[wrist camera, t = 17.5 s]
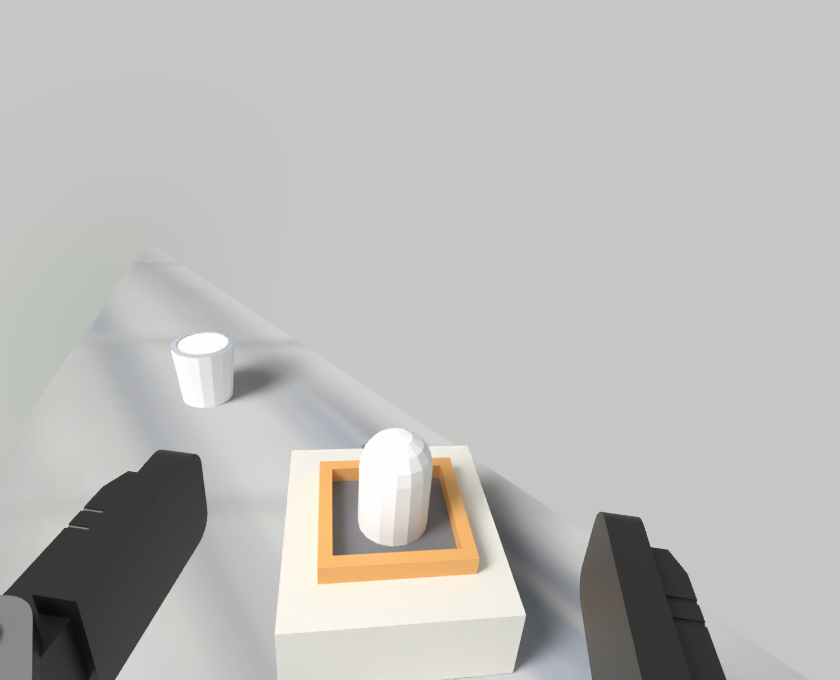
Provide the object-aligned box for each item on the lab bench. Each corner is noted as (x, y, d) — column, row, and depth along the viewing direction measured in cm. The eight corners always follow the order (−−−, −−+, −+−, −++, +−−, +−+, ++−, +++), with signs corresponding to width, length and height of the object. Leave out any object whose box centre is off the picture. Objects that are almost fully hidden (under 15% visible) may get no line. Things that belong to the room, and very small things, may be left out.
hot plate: (455, 474, 59) (462, 413, 55) (513, 673, 40) (529, 599, 37) (295, 480, 56) (293, 417, 53) (278, 694, 38) (273, 618, 34)
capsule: (412, 555, 41) (420, 467, 37) (345, 533, 42) (347, 445, 39) (436, 507, 45) (445, 424, 42) (375, 488, 47) (378, 406, 43)
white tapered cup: (165, 396, 68) (157, 343, 64) (214, 374, 73) (208, 324, 70) (201, 417, 64) (195, 363, 61) (250, 393, 69) (246, 342, 66)
